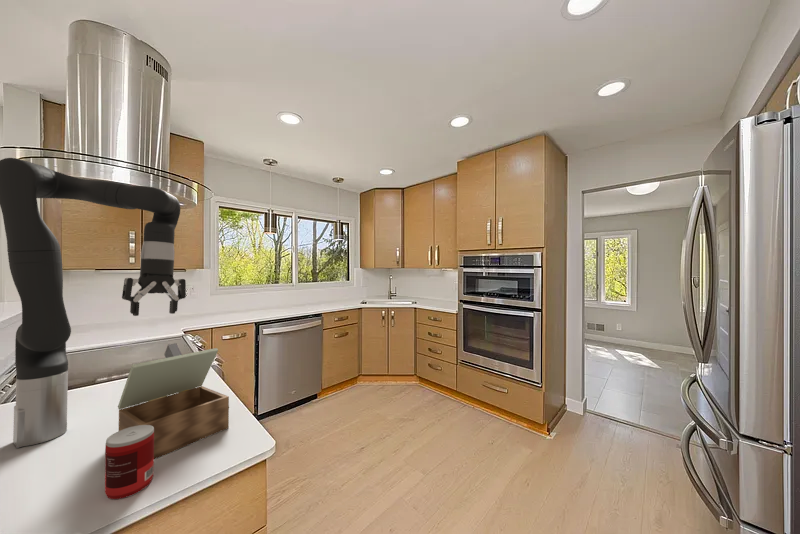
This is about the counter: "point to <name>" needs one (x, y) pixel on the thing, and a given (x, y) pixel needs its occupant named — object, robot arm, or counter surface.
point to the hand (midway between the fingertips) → (154, 314)
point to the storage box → (179, 418)
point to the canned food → (129, 461)
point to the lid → (166, 375)
